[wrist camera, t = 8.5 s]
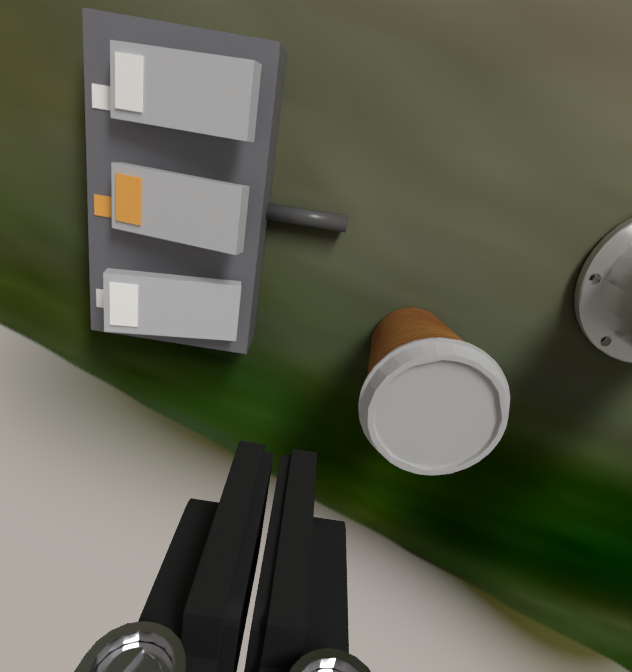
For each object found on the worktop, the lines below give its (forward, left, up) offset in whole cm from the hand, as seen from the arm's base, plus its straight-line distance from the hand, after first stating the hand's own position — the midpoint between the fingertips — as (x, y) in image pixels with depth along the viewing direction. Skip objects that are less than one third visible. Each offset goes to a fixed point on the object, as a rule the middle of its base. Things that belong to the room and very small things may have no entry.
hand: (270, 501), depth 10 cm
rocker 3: (+9, +5, -23) cm, 25 cm away
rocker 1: (+9, -9, -23) cm, 26 cm away
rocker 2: (+9, -2, -23) cm, 25 cm away
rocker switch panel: (+7, -2, -29) cm, 30 cm away
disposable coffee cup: (-9, +7, -29) cm, 31 cm away
